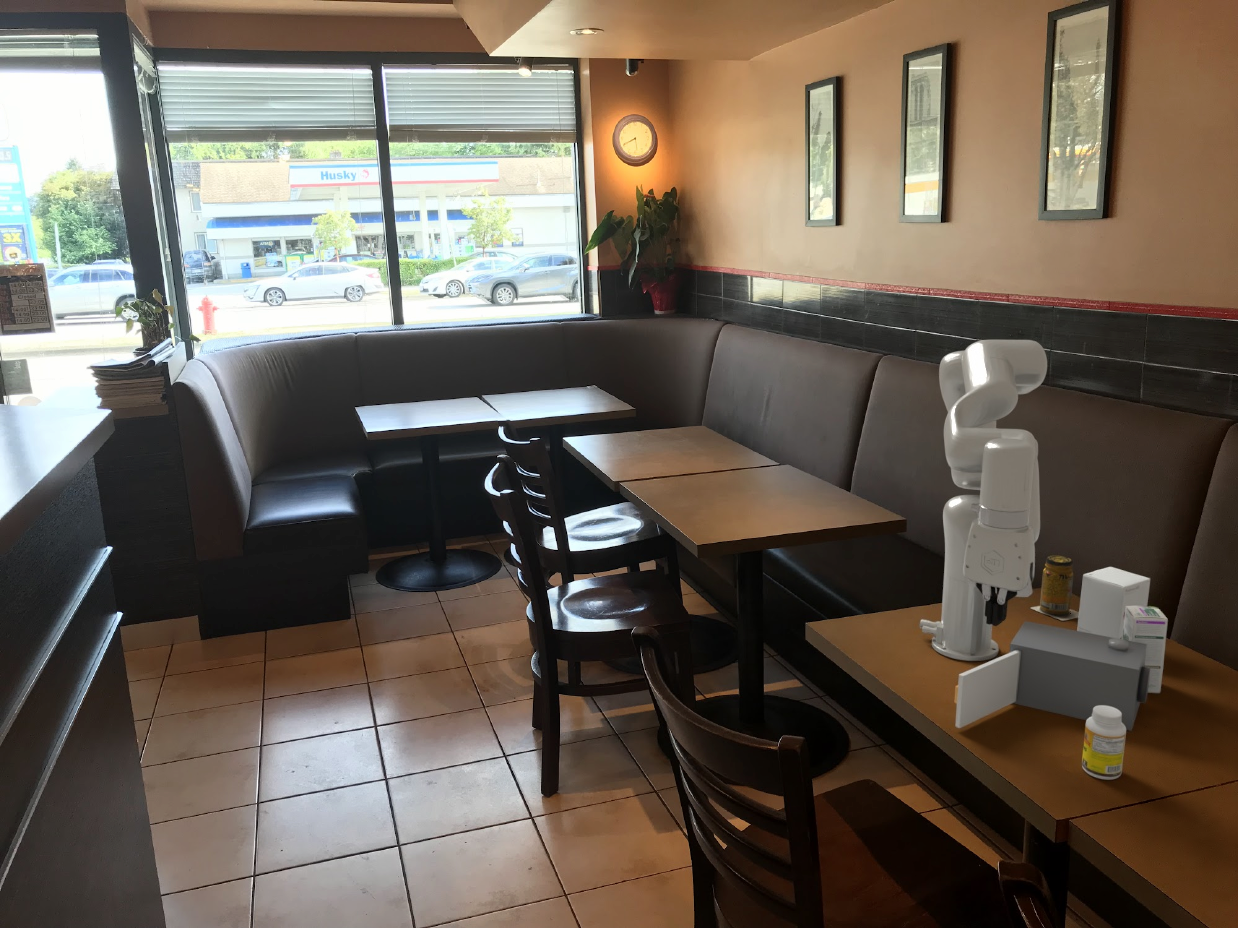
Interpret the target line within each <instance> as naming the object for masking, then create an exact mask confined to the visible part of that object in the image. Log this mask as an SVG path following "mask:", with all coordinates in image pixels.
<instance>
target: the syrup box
mask: <svg viewBox="0 0 1238 928" xmlns="http://www.w3.org/2000/svg"><path fill="white" fill-rule="evenodd" d="M1168 622H1169V620H1168V618H1167V617H1166V615H1165V614H1164V613H1163V611H1161V609H1159V607H1157V606H1151V605H1149V606H1148V605H1147V606H1126V607H1125V617H1124V627H1123V640H1128V641H1133V642H1138V643H1144V644H1147V648H1146V657H1145V665H1144V667H1148V668H1150V680H1149V688H1148V694H1151V693H1152V694H1160V693H1161V691H1162V688H1161V687H1162V682H1163V681H1162V679H1163V670H1164V664H1165V663H1164V661H1165V651H1166V640H1167V631H1168Z"/></svg>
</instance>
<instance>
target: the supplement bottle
mask: <svg viewBox="0 0 1238 928" xmlns="http://www.w3.org/2000/svg"><path fill="white" fill-rule="evenodd" d="M1121 718H1122V713H1121V712H1120V711H1119V710H1118V709H1116V708H1114V707H1110V706H1105V705H1099V706H1095V707H1094V708H1093V713H1092V716H1091V717H1089V718H1088V719H1087V720H1085V727H1084V735H1083V738H1084V739H1083V745H1082V746H1083V748H1082V758H1081V767H1082V769H1083V771H1084V772H1085V773H1086V774H1088V775H1089V776H1091V777H1094V778H1096V779H1101V780H1107V781H1108V780H1110V781H1111V780H1115V779H1118V778H1119V777H1121V775H1122V773H1123V762H1124V754H1125V744H1126V735H1127V730H1126V727H1125V725H1124V724H1123V723H1122V722H1121V721H1122V719H1121Z"/></svg>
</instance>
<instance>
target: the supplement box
mask: <svg viewBox="0 0 1238 928" xmlns="http://www.w3.org/2000/svg"><path fill="white" fill-rule="evenodd" d="M1150 586H1151V577H1146V576H1143V575H1140V574H1136V573H1133V572H1129V571H1126V570H1122V569H1120V568H1116V567H1113V566H1108V567H1104V568H1101V569H1097V570H1094V571H1091V572H1087V573H1083V575H1082V585H1081V592H1080V601H1079V610H1078V612H1079V617H1077V629H1076V631H1080V632H1086V633H1091V634H1096V635H1101V636H1107V637H1112V638H1117V639H1123V627H1124V617H1125V607H1126V606H1148V602H1149V601H1148V600H1149V593H1150Z"/></svg>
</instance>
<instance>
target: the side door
mask: <svg viewBox="0 0 1238 928" xmlns="http://www.w3.org/2000/svg"><path fill="white" fill-rule="evenodd" d="M1009 652H1010V651H1009ZM1009 652H1008V653H1006V654H1004V655H1002V656H999V657H996V658H993V659H992V660H989V661H988V662H985V663H983V664H980V665H978V666H975V667H972V668H971V669H968V670H966V671H964V672H962V673H959V674H958V683H957V685H955V688H954V700H953V701H954V703H955V704H956V709H955V710H956V711H955V713H956V714H955V727H956V728H958V729H961V728H963V727H966V726H967V725H970V724H971V723H974V722H976V721H978V720H980V719H982V718H984V717H986V716H988V715H991V714H992V713H995V712H997V711H998V710H1001V709H1003V708H1005V707H1007V706H1009V705H1011V704H1015V703H1014V702H1016V701H1017V693H1018V681H1019V669H1020V658H1021V651H1020V650H1015V651H1013V652H1010V653H1009Z"/></svg>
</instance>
